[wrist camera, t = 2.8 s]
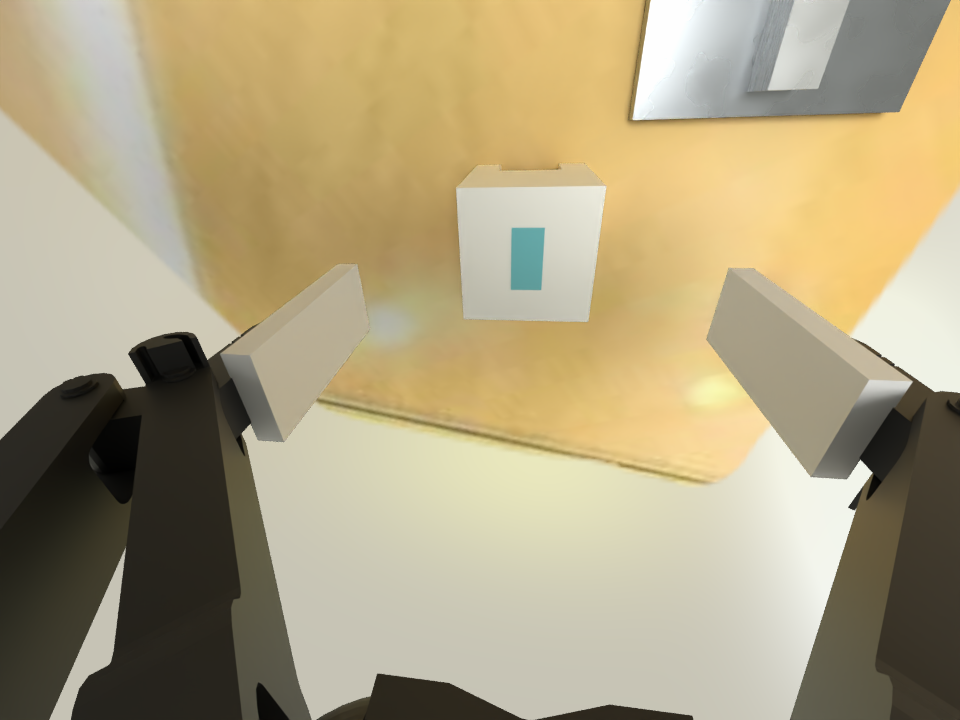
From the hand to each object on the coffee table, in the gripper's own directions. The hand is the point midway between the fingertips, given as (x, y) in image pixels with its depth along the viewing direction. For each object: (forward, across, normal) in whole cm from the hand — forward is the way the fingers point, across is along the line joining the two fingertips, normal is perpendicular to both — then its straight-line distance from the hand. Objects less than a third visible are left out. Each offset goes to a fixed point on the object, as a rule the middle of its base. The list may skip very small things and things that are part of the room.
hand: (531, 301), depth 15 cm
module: (+11, 0, 0) cm, 11 cm away
